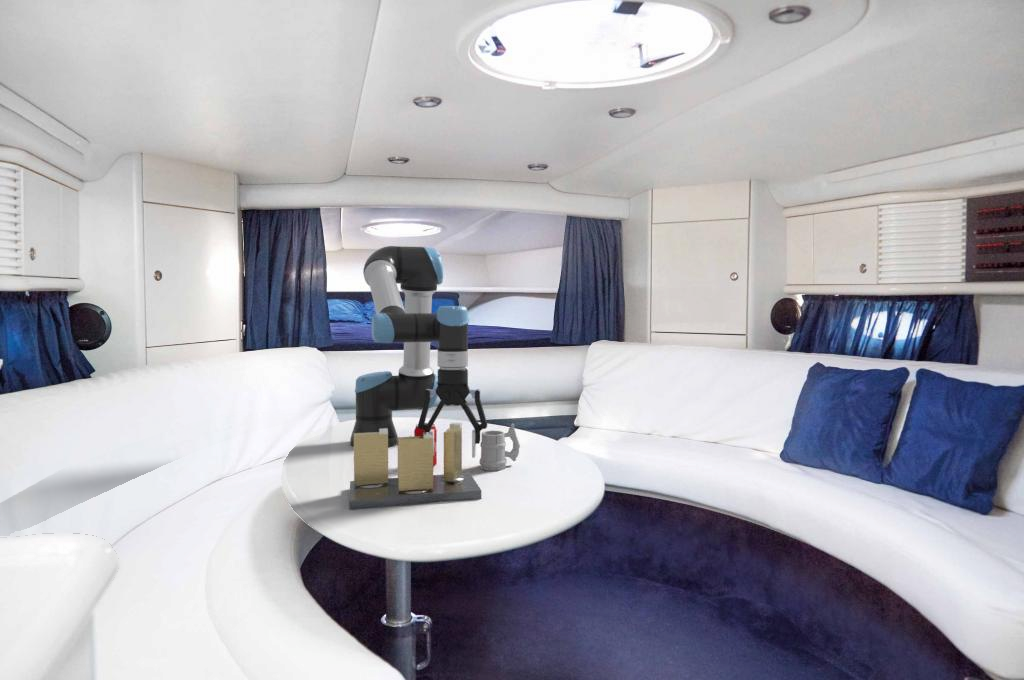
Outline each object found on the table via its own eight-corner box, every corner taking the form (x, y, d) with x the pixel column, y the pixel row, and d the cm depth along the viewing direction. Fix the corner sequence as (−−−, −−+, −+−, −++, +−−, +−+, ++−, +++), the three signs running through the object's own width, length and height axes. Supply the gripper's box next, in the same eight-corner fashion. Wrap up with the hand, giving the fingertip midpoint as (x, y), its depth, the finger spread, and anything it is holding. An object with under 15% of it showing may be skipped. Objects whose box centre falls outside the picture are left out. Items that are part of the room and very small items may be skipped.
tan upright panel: (454, 481, 141) (454, 429, 141) (443, 480, 142) (443, 429, 141) (462, 472, 149) (461, 423, 149) (451, 471, 150) (451, 422, 149)
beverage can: (432, 470, 160) (432, 427, 159) (411, 469, 161) (410, 426, 160) (439, 464, 166) (439, 423, 165) (419, 463, 167) (418, 422, 166)
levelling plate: (350, 489, 143) (350, 479, 143) (469, 480, 151) (469, 471, 151) (349, 509, 129) (349, 499, 129) (481, 498, 136) (481, 488, 136)
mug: (475, 465, 165) (475, 423, 164) (514, 461, 169) (514, 420, 169) (484, 472, 158) (484, 429, 157) (524, 468, 162) (524, 425, 162)
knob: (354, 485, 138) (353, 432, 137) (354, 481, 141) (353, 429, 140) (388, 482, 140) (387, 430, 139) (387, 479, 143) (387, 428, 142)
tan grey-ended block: (398, 491, 134) (398, 436, 133) (398, 487, 137) (397, 433, 136) (433, 488, 136) (433, 434, 135) (431, 484, 139) (431, 432, 138)
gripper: (404, 369, 140) (405, 459, 142) (497, 369, 140) (497, 460, 142) (410, 366, 148) (410, 452, 149) (498, 366, 148) (498, 452, 149)
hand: (452, 456), depth 145 cm, fingers open, 10 cm apart
